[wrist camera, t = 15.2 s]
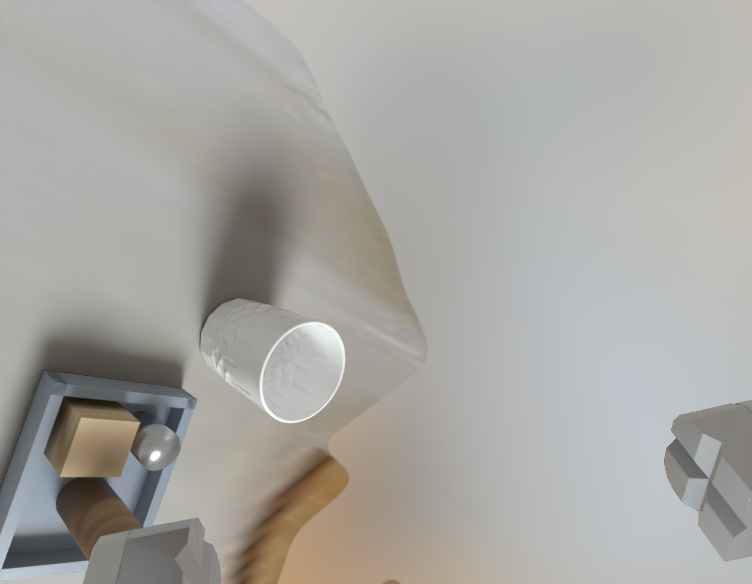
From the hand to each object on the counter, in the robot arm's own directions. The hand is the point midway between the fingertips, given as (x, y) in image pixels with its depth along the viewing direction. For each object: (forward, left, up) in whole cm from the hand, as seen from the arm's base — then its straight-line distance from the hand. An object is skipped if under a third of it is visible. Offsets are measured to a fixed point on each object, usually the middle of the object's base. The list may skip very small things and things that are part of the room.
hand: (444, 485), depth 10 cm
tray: (+16, +12, -36) cm, 41 cm away
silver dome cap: (+12, +14, -35) cm, 40 cm away
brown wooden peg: (+18, +12, -35) cm, 41 cm away
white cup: (+4, +20, -36) cm, 41 cm away
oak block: (+12, +10, -35) cm, 39 cm away
